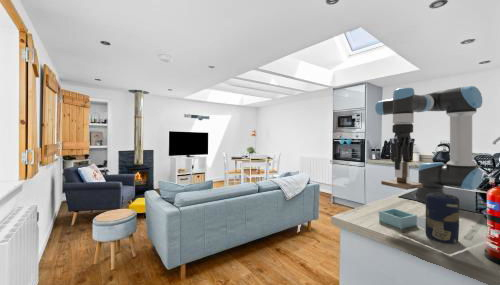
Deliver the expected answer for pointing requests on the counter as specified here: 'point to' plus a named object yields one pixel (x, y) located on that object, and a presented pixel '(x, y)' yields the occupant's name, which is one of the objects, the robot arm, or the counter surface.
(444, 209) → the canister
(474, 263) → the counter surface
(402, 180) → the lid
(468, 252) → the counter surface
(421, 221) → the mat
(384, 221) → the dish
